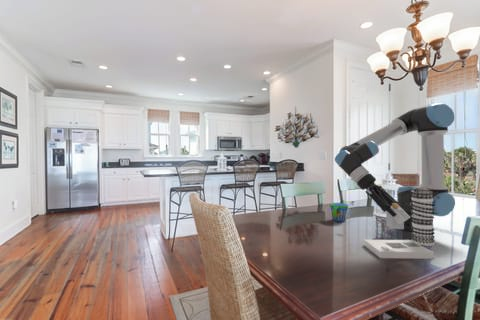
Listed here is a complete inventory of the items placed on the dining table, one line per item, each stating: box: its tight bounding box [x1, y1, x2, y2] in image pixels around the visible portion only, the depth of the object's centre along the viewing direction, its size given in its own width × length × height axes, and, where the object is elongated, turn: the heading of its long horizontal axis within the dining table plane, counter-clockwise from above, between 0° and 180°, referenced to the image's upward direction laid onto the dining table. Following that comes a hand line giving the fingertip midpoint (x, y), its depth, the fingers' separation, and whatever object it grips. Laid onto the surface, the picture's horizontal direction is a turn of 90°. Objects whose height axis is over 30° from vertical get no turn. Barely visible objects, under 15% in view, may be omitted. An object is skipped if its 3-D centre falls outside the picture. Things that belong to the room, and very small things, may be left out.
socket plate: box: [363, 239, 435, 260], centre depth 101 cm, size 20×14×3 cm
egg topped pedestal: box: [385, 203, 404, 230], centre depth 101 cm, size 4×4×10 cm
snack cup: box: [329, 202, 349, 223], centre depth 151 cm, size 16×10×10 cm
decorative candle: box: [410, 187, 436, 247], centre depth 111 cm, size 9×9×25 cm
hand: (405, 220), depth 98 cm, fingers closed on egg topped pedestal, 6 cm apart
